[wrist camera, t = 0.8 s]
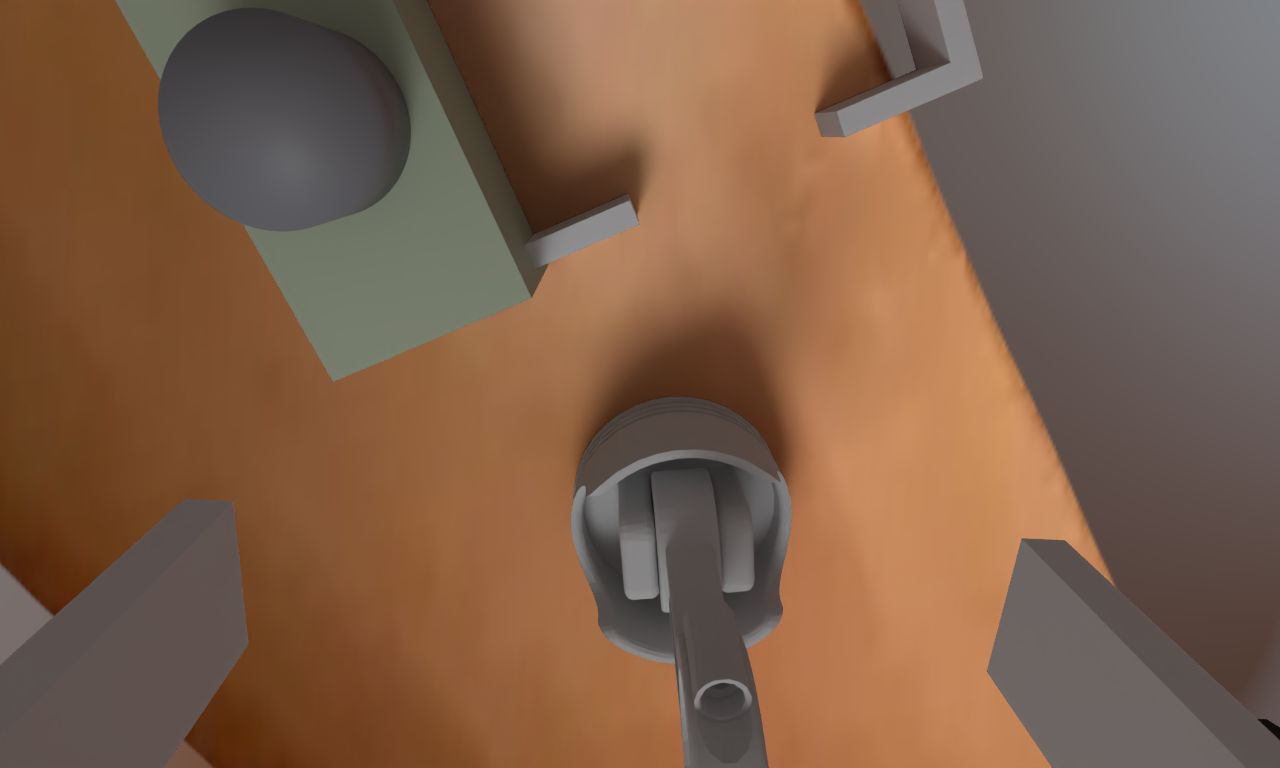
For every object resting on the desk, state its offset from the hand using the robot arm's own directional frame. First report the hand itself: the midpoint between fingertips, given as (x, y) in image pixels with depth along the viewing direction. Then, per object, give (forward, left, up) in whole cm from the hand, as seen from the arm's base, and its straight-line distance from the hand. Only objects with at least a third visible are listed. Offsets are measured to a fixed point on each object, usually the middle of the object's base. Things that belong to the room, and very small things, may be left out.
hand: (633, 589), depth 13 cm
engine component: (+10, -1, -23) cm, 25 cm away
